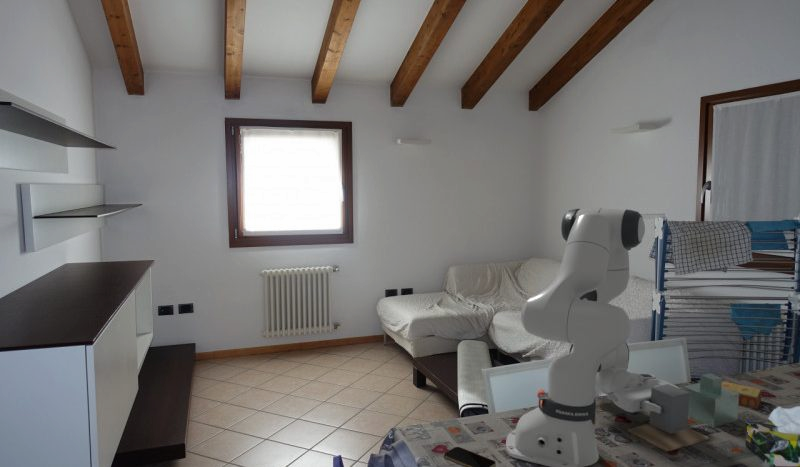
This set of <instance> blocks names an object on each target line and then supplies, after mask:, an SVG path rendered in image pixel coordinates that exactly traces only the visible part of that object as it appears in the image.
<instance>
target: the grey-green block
mask: <svg viewBox="0 0 800 467" xmlns="http://www.w3.org/2000/svg"><path fill="white" fill-rule="evenodd" d="M722 381H723V377H721V376H718V375H716V374H713V373H709V372H708V373H705V374H702V375H700V382H697V383H692V384H687V385H683V386H682V390H684V391H687V392H689V393H690V394H689V410H688V417H690V418H693V419H694V420H697V421H700V422H702V423H703V424H706V425H708V426H710V427H713V428H716V427H719V426H723V425H726V424H731V423H735V422H737V421H738V416H739V405H738V403H739V393H736V392H734V391H731V390H728V389H725V388H723V387H722Z"/></svg>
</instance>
